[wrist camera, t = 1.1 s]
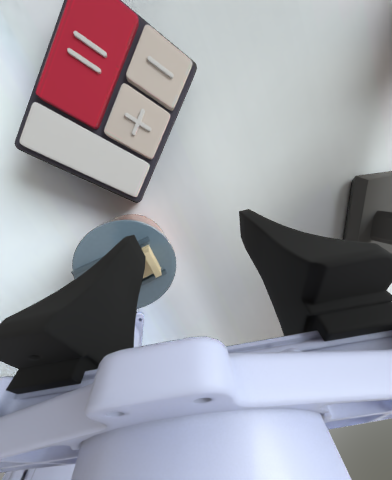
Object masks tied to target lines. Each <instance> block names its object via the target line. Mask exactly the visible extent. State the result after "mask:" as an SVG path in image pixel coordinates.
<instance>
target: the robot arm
mask: <svg viewBox="0 0 392 480" xmlns="http://www.w3.org/2000/svg"><path fill="white" fill-rule="evenodd" d="M239 216H240V231H241V238H242V241H243V244H244V246H245V248H246V250H247V252H248V254H249V256H250V258H251V259H252V261H253V263H254V265H255V266H256V268H257V270H258V272H259V274H260V276H261V278H262V280H263V282H264V284H265V287H266V289H267V292H268V294H269V296H270V299H271V301H272V304H273V306H274V309H275V312H276V314H277V317H278V320H279V322H280V325H281V328H282V331H283V333H284V336H283V337H277V338H272V339H266V340H260V341H255V342H249V343H243V344H237V345H232V346H225V345H224V344H223V343H222V342H221V341H219V340H218V339H214V338H210V337H189V338H184V339H178V340H173V341H167V342H162V343H156V344H151V345H145V346H142V333H143V321H144V314H143V313H136V310H137V302H138V297H139V293H140V288H141V284H142V280H143V275H144V270H145V259H146V256H145V255H144V253H143V251H142V249H141V247H140V245H139V243H138V241H137V239H136V237H135V235H131V236H126V237H125V238H123V239H122V240H121V241H120V242H119V243H118V244H116V245H115V246H114V247H113V248H112V249H111V250H110V251H109V252H108V253H107V254H106V255H105V256H104V257H102V258H101V259H100V260H99V261H98V262H97V263H96V264H95V265H93V266H92V267H91V268H90V269H88V270H87V271H86V272H85V273H83V274H82V275H81V276H79V277H78V278H76V279H75V280H74V281H72V282H71V283H69V284H67V285H66V286H64V287H63V288H61V289H60V290H58V291H57V292H55V293H53V294H52V295H50V296H48V297H46V298H45V299H43V300H41V301H39V302H37V303H36V304H34V305H32V306H30V307H28V308H26V309H24V310H22V311H20V312H18V313H16V314H14V315H12V316H10V317H8V318H6V319H5V320H4V321H3V322H2V323H1V324H0V361H2V362H4V363H6V364H8V365H11V366H13V367H15V368H18V369H19V370H18V371H17V373H16V375H15V376H14V377H10V376H5V377H0V473H2V472H5V474H4V476H3V478H2V480H351V478H350V476H349V473H348V471H347V469H346V467H345V465H344V463H343V461H342V459H341V457H340V455H339V452H338V450H337V448H336V446H335V444H334V442H333V439H332V438H331V435H330V433H329V431H328V430H329V429H335V428H340V427H346V426H351V425H357V424H362V423H368V422H374V421H379V420H384V419H391V418H392V302H391V301H392V295H391V294H390V293H389V292H388V291H386V290H387V288H388V287H389V286H390V284H391V283H392V253H390V252H389V251H387V250H386V249H384V248H382V247H381V246H379V245H378V244H376V243H366V242H356V241H347V240H340V239H333V238H327V237H322V236H317V235H313V234H309V233H305V232H301V231H298V230H295V229H292V228H289V227H286V226H283V225H281V224H278V223H276V222H274V221H271V220H269V219H267V218H265V217H263V216H261V215H259V214H257V213H255V212H253V211H251V210H249V209H248V210H243V211H239ZM139 319H141V320H139Z"/></svg>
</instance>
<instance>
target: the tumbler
mask: <svg viewBox="0 0 392 480" xmlns="http://www.w3.org/2000/svg"><path fill="white" fill-rule="evenodd" d="M131 235H135V237H136V239H137V241H138V243H139V245H140V247H141V248H142V247H144V246H146V245H149V246H150V248H151V250H152V252H153V254H154V256H155V257H156V259H157V261H158V263H159V265H160V267H161V273H162V275H161V276H159V277H157V278H156V277H155V275H154V274H151V275H149V276H147V277H145V278H143V280H142V284H141V288H140V293H139V297H138V302H137V308H141V307H144V306H146V305H149V304H151V303H152V302H154V301H156V300H157V299H159V298H160V297H161V296H162V295H163V294H164V293H165V292H166V291H167V290H168V288H169V287H170V285H171V283H172V281H173V279H174V276H175V272H176V257H175V253H174V250H173V248H172V245H171V244H170V242H169V240H168V239H167V238H166V236H165V235H164V233H163V231H162V229H161V228H160V227H159V226H158V225H157V224H156V223H155V222H154V221H152V220H151V219H149V218H147V217H145V216H141V215H136V214H127V215H121V216H118V217H116V218H114V219H112V220H110V221H109V222H107V223H104V224H102V225H100V226H98V227H96V228H95V229H93V230H92V231H90V232H89V233H88V234H87V235H86V236H85V237H84V238H83V239H82V240H81V241H80V243H79V245H78V246H77V248H76V250H75V253H74V257H73V263H72V269H73V271H72V272H71V273H72V274H73V275H74V279H76V278H78V277H79V276H81V275H82V274H83V273H85V272H86V271H87V270H88V269H90V268H91V267H92V266H93V265H95V264H96V263H97V262H98V261H99V260H100V259H101V258H102V257H104V256H105V255H106V254H107V253H108V252H109V251H110V250H111V249H112V248H113V247H114V246H115V245H116V244H118V243H119V242H120V241H121V240H122V239H123V238H125V237H126V236H131Z"/></svg>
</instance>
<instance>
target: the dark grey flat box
mask: <svg viewBox="0 0 392 480" xmlns="http://www.w3.org/2000/svg"><path fill="white" fill-rule="evenodd" d="M196 69H197V66H196V63H195V62H194V61H193V60H191V59H190V58H189V57H188V56H187V55H186V54H184V53H183V52H182V51H181V50H180V49H178V48H177V47H176V46H175V45H174V44H172V43H171V42H170V41H169V40H168V39H166V38H165V37H164V36H163V35H162V34H160V33H159V32H158V31H157V30H156V29H154V28H153V27H152V26H151V25H150V24H148V23H147V22H146V21H145V20H144V19H142V18H141V17H140V16H139V15H138V14H136V13H135V12H134V11H133V10H132V9H130V8H129V7H128V6H127V5H126V4H124V3H123V2H122V1H121V0H64V3H63V6H62V9H61V12H60V14H59V17H58V20H57V23H56V26H55V29H54V32H53V34H52V37H51V40H50V43H49V46H48V49H47V52H46V54H45V57H44V60H43V63H42V66H41V69H40V72H39V74H38V77H37V80H36V83H35V86H34V89H33V92H32V94H31V97H30V100H29V103H28V106H27V109H26V112H25V115H24V117H23V120H22V123H21V126H20V129H19V132H18V135H17V137H16V140H15V146H16V147H17V149H19V150H21V151H23V152H25V153H27V154H29V155H31V156H34V157H36V158H38V159H40V160H43V161H45V162H47V163H49V164H51V165H54V166H56V167H58V168H60V169H62V170H65V171H67V172H69V173H71V174H74V175H76V176H78V177H80V178H82V179H85V180H87V181H89V182H91V183H94V184H96V185H98V186H100V187H102V188H105V189H107V190H109V191H111V192H113V193H116V194H118V195H120V196H122V197H125V198H127V199H129V200H131V201H133V202H137V203H138V202H140V201H141V200H142V198H143V195H144V193H145V190H146V188H147V186H148V183H149V181H150V179H151V176H152V174H153V172H154V169H155V167H156V165H157V162H158V160H159V158H160V155H161V153H162V150H163V148H164V146H165V143H166V141H167V139H168V136H169V134H170V132H171V129H172V127H173V125H174V122H175V120H176V118H177V115H178V113H179V111H180V108H181V106H182V104H183V101H184V99H185V97H186V94H187V92H188V90H189V87H190V85H191V82H192V80H193V77H194V75H195V72H196Z"/></svg>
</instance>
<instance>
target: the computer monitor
mask: <svg viewBox="0 0 392 480" xmlns="http://www.w3.org/2000/svg"><path fill="white" fill-rule="evenodd" d="M344 240H347V241H356V242H366V243H376V244H378V245H379V246H381V247H382V248H384V249H386V250H387V251H389V252H390V253H392V171H389V172H382V173H374V174H367V175H359V176H355V178H354V179H353V181H352V187H351V194H350V200H349V207H348V214H347V220H346V227H345V234H344Z"/></svg>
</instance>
